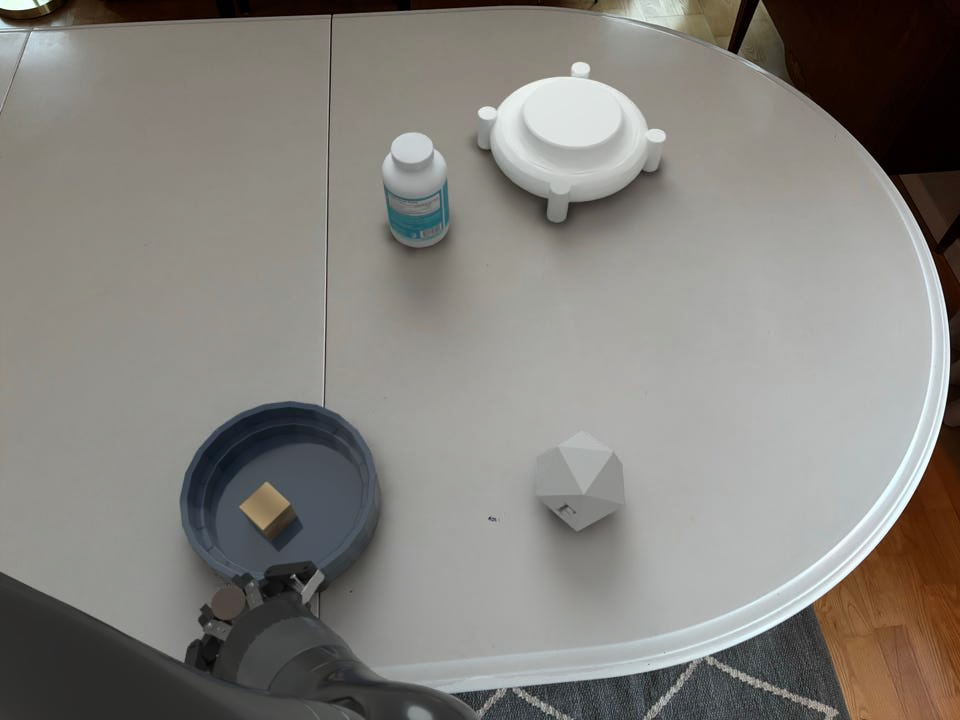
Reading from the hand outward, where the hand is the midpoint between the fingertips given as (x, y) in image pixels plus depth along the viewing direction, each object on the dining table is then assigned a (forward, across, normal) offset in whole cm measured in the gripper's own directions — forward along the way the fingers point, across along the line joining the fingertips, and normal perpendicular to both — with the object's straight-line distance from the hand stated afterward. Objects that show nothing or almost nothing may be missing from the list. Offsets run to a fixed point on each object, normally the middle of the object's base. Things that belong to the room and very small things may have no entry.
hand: (225, 598), depth 69 cm
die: (-7, -30, +16) cm, 35 cm away
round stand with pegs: (+14, -67, -6) cm, 69 cm away
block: (+8, -8, +1) cm, 11 cm away
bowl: (+8, -10, +1) cm, 13 cm away
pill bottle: (+19, -45, -10) cm, 50 cm away
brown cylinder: (+3, 0, +6) cm, 6 cm away
